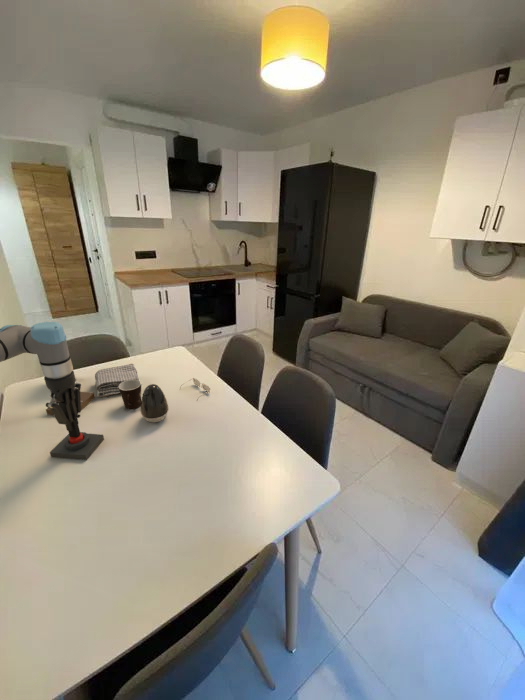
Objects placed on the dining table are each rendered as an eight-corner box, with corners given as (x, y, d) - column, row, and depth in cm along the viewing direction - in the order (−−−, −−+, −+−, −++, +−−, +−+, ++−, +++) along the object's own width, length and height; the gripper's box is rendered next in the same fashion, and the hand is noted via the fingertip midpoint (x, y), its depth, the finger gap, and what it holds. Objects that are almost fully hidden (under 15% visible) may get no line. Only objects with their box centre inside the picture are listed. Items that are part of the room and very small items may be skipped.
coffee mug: (130, 398, 127) (127, 378, 123) (148, 401, 126) (145, 381, 122) (112, 413, 117) (108, 392, 113) (131, 417, 115) (128, 395, 111)
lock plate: (74, 416, 114) (72, 411, 113) (47, 414, 114) (45, 409, 113) (95, 397, 127) (94, 392, 126) (70, 395, 127) (69, 390, 126)
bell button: (67, 443, 96) (65, 439, 95) (74, 435, 99) (73, 431, 99) (78, 444, 95) (77, 440, 95) (86, 436, 99) (85, 432, 98)
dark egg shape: (136, 423, 112) (130, 389, 106) (152, 408, 121) (148, 376, 115) (159, 428, 110) (155, 394, 104) (174, 413, 119) (171, 381, 113)
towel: (96, 383, 137) (93, 368, 134) (137, 375, 146) (135, 361, 143) (98, 399, 125) (94, 383, 122) (142, 389, 134) (140, 374, 131)
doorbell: (51, 457, 94) (48, 448, 93) (71, 436, 104) (69, 427, 102) (87, 460, 94) (84, 450, 92) (104, 439, 103) (102, 430, 101)
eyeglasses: (211, 394, 133) (210, 387, 131) (197, 402, 128) (196, 395, 126) (193, 383, 141) (192, 376, 139) (179, 390, 136) (177, 383, 134)
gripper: (61, 362, 93) (76, 422, 103) (29, 383, 81) (50, 448, 91) (84, 364, 93) (97, 424, 102) (55, 385, 81) (73, 450, 90)
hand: (75, 435), depth 97 cm, fingers closed
